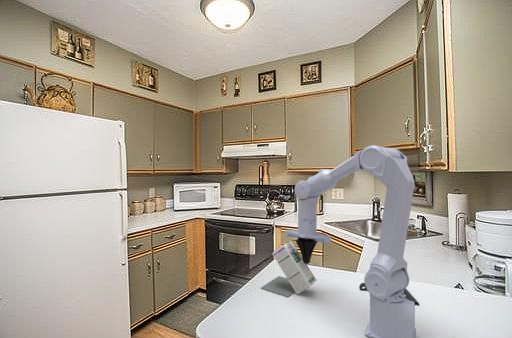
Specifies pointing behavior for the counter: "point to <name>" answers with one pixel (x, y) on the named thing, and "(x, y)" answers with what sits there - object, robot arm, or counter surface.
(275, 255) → the syrup box
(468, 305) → the counter surface
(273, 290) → the mat
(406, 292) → the bracket
